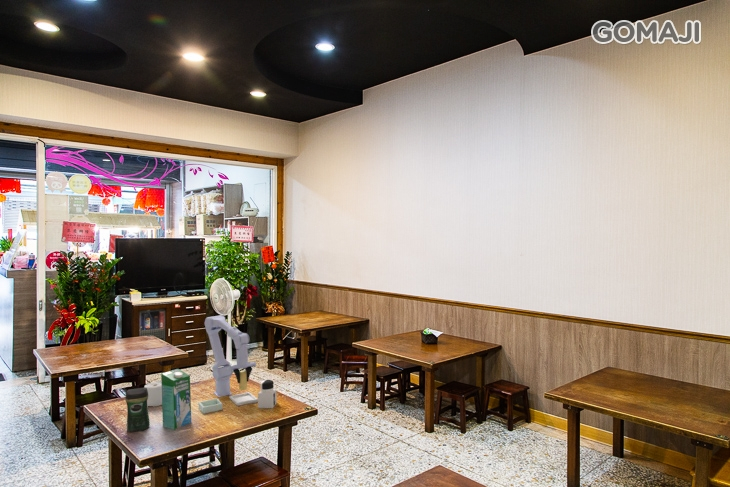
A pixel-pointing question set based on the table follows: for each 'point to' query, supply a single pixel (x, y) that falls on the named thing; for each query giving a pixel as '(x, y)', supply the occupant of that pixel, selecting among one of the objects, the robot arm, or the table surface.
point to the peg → (243, 380)
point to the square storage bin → (210, 406)
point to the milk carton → (176, 399)
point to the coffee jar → (137, 409)
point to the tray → (243, 398)
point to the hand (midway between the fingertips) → (242, 381)
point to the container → (267, 395)
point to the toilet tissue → (154, 393)
